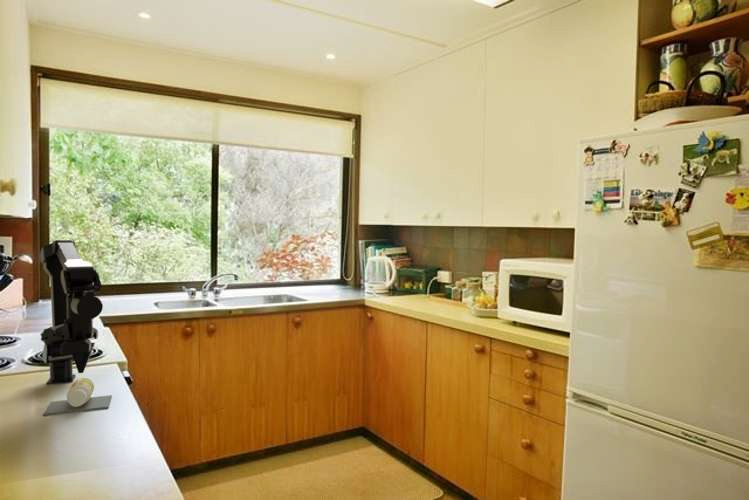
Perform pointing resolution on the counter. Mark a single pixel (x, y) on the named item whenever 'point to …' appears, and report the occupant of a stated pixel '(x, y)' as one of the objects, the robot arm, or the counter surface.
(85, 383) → the supplement bottle
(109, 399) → the mat
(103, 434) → the counter surface
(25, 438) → the counter surface
